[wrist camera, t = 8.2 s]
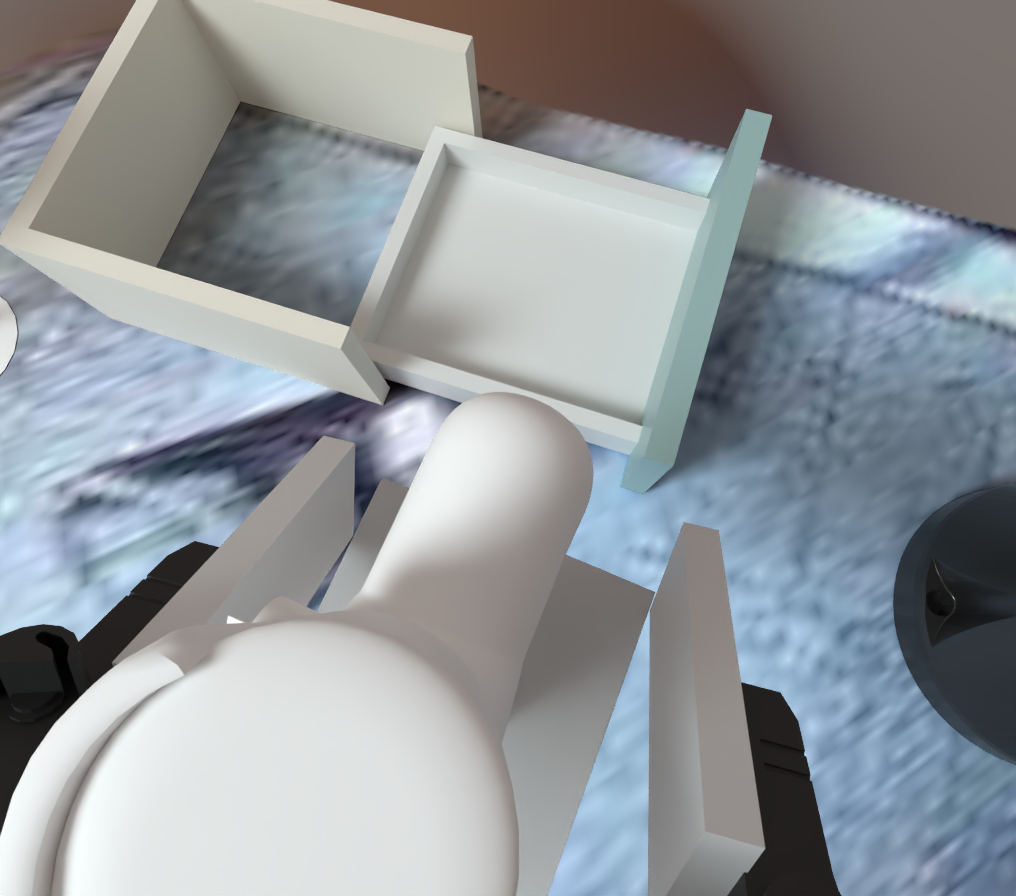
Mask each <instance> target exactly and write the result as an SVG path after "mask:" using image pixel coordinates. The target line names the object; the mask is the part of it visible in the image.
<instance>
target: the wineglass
mask: <svg viewBox="0 0 1016 896" xmlns="http://www.w3.org/2000/svg"><path fill="white" fill-rule="evenodd" d="M17 334H18V332H17V325H16V319H15V315H14V313H13V312H12V310H11V308H10V306H9V305H8V303H7V301H5V300H4V299H3V298H1V297H0V374H1V373H2V372H3V371H4V370H5V368H6V366H7V364H8V362H9V361H10V359H11V357H12V355H13V353H14V350H15V345H16V339H17Z"/></svg>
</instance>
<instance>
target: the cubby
mask: <svg viewBox="0 0 1016 896" xmlns="http://www.w3.org/2000/svg"><path fill="white" fill-rule="evenodd" d="M240 102H244V103H248V104H252V105H256V106H259V107H263V108H267V109H270V110H274V111H278V112H281V113H285V114H289V115H292V116H296V117H300V118H304V119H307V120H311V121H315V122H318V123H322V124H326V125H329V126H333V127H337V128H341V129H344V130H348V131H352V132H355V133H359V134H363V135H366V136H370V137H374V138H377V139H381V140H385V141H389V142H392V143H396V144H400V145H403V146H407V147H411V148H414V149H418V150H422V151H425V148H426V146H427V144H428V141H429V139H430V136H431V134H432V132H433V129H434V127H435V126H438V127H441V128H445V129H449V130H453V131H456V132H460V133H464V134H468V135H472V136H475V137H479V138H483V136H482V126H481V116H480V106H479V96H478V86H477V76H476V67H475V56H474V46H473V37H472V36H469V35H465V34H461V33H457V32H452V31H449V30H444V29H441V28H437V27H433V26H428V25H425V24H420V23H416V22H412V21H408V20H404V19H400V18H396V17H392V16H388V15H384V14H380V13H376V12H372V11H368V10H364V9H360V8H356V7H352V6H348V5H344V4H340V3H336V2H331V1H328V0H136V2H135V4H134V6H133V7H132V9H131V11H130V12H129V14H128V16H127V18H126V19H125V21H124V23H123V25H122V26H121V28H120V30H119V31H118V33H117V35H116V37H115V38H114V40H113V42H112V44H111V45H110V47H109V49H108V50H107V52H106V54H105V56H104V57H103V59H102V61H101V63H100V64H99V66H98V68H97V70H96V71H95V73H94V75H93V76H92V78H91V80H90V82H89V83H88V85H87V87H86V89H85V90H84V92H83V94H82V95H81V97H80V99H79V101H78V102H77V104H76V106H75V108H74V109H73V111H72V113H71V114H70V116H69V118H68V120H67V121H66V123H65V125H64V127H63V128H62V130H61V132H60V133H59V135H58V137H57V139H56V140H55V142H54V144H53V146H52V147H51V149H50V151H49V153H48V154H47V156H46V158H45V159H44V161H43V163H42V165H41V166H40V168H39V170H38V172H37V173H36V175H35V177H34V178H33V180H32V182H31V184H30V185H29V187H28V189H27V191H26V192H25V194H24V196H23V197H22V199H21V201H20V203H19V204H18V206H17V208H16V210H15V211H14V213H13V215H12V216H11V218H10V220H9V222H8V223H7V225H6V227H5V229H4V230H3V232H2V234H1V236H0V245H2V246H3V247H5V248H6V249H8V250H9V251H11V252H12V253H14V254H15V255H17V256H18V257H20V258H21V259H23V260H24V261H26V262H27V263H29V264H30V265H32V266H33V267H35V268H36V269H38V270H39V271H41V272H42V273H44V274H45V275H47V276H48V277H50V278H51V279H53V280H54V281H56V282H57V283H59V284H60V285H62V286H63V287H65V288H66V289H68V290H69V291H71V292H72V293H74V294H75V295H77V296H78V297H80V298H81V299H83V300H84V301H86V302H87V303H89V304H90V305H92V306H93V307H95V308H96V309H98V310H99V311H101V312H102V313H104V314H105V315H106V316H108V317H109V318H111V319H114V320H117V321H120V322H123V323H126V324H130V325H133V326H136V327H139V328H142V329H145V330H148V331H152V332H155V333H158V334H161V335H164V336H167V337H170V338H174V339H177V340H180V341H183V342H186V343H189V344H192V345H195V346H199V347H202V348H205V349H208V350H211V351H214V352H217V353H221V354H224V355H227V356H230V357H233V358H236V359H239V360H242V361H246V362H249V363H252V364H255V365H258V366H261V367H264V368H268V369H271V370H274V371H277V372H280V373H283V374H286V375H290V376H293V377H296V378H299V379H302V380H305V381H308V382H311V383H315V384H318V385H321V386H324V387H327V388H330V389H333V390H337V391H340V392H343V393H346V394H349V395H352V396H355V397H358V398H362V399H365V400H368V401H371V402H374V403H377V404H380V405H383V404H384V402H385V399H386V397H387V394H388V392H389V389H390V387H389V386H388V384H387V383H386V381H385V380H384V378H383V377H382V375H381V373H380V372H379V370H378V369H377V367H376V366H375V364H374V363H373V361H372V360H371V358H370V357H369V355H368V354H367V352H366V351H365V349H364V348H363V346H362V345H361V343H360V342H359V340H358V339H357V337H356V336H355V334H354V333H353V331H352V330H351V328H350V327H348V326H345V325H342V324H339V323H335V322H332V321H329V320H326V319H322V318H319V317H316V316H313V315H309V314H306V313H303V312H300V311H296V310H293V309H290V308H286V307H283V306H280V305H277V304H273V303H270V302H267V301H264V300H260V299H257V298H254V297H251V296H247V295H244V294H241V293H238V292H234V291H231V290H228V289H224V288H221V287H218V286H215V285H211V284H208V283H205V282H202V281H198V280H195V279H192V278H189V277H185V276H182V275H179V274H176V273H172V272H169V271H166V270H163V269H159V268H156V267H157V265H158V263H159V261H160V259H161V257H162V255H163V253H164V251H165V249H166V247H167V245H168V243H169V241H170V239H171V237H172V235H173V233H174V231H175V229H176V227H177V225H178V223H179V221H180V219H181V217H182V215H183V214H184V212H185V210H186V208H187V206H188V204H189V202H190V200H191V198H192V196H193V194H194V192H195V190H196V188H197V186H198V184H199V182H200V180H201V178H202V176H203V174H204V172H205V170H206V168H207V166H208V164H209V162H210V160H211V159H212V157H213V155H214V153H215V151H216V149H217V147H218V145H219V143H220V141H221V139H222V137H223V135H224V133H225V131H226V129H227V127H228V125H229V123H230V121H231V119H232V117H233V115H234V113H235V111H236V109H237V107H238V106H239V104H240Z"/></svg>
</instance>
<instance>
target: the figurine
mask: <svg viewBox="0 0 1016 896" xmlns="http://www.w3.org/2000/svg"><path fill="white" fill-rule="evenodd" d="M592 484H593V462H592V458H591V454H590V451H589V447H588V445H587V443H586V442H585V440H584V438H583V436H582V434H581V433H580V431H579V430H578V429H577V428H576V427H575V426H574V424H573V423H572V422H570V421H569V420H568V419H567V418H566V417H565V416H563V415H562V414H561V413H560V412H558V411H557V410H555V409H553V408H552V407H550V406H549V405H547V404H545V403H543V402H540V401H538V400H536V399H534V398H530V397H527V396H524V395H520V394H515V393H509V392H491V393H484V394H480V395H477V396H475V397H473V398H471V399H469V400H467V401H465V402H463V403H462V404H461V405H459V406H458V407H457V408H456V409H454V410H453V412H452V413H451V414H450V415H449V416H448V417H447V418H446V420H445V421H444V422H443V424H442V425H441V427H440V428H439V430H438V432H437V433H436V435H435V437H434V439H433V440H432V442H431V444H430V446H429V448H428V451H427V453H426V455H425V457H424V459H423V461H422V463H421V465H420V468H419V470H418V472H417V474H416V476H415V478H414V480H413V482H412V485H411V487H410V489H409V488H407V487H405V486H402V485H400V484H397V483H395V482H393V481H390V480H388V479H386V478H383V477H382V479H381V481H380V484H379V486H378V488H377V490H376V492H375V494H374V496H373V498H372V500H371V502H370V504H369V506H368V508H367V510H366V512H365V514H364V516H363V518H362V521H361V523H360V525H359V527H358V529H357V531H356V533H355V535H354V537H353V539H352V541H351V543H350V545H349V547H348V549H347V551H346V553H345V555H344V557H343V560H342V562H341V564H340V566H339V568H338V570H337V572H336V574H335V576H334V578H333V580H332V582H331V584H330V586H329V588H328V590H327V592H326V594H325V597H324V599H323V601H322V603H321V605H320V607H319V609H318V611H317V612H316V611H314V610H312V609H310V608H307V607H305V606H303V605H301V604H299V603H296V602H294V601H292V600H290V599H288V598H286V597H283V596H280V597H277V598H275V599H273V600H272V601H271V602H269V603H268V604H267V605H266V606H265V607H264V608H263V609H262V610H261V611H260V613H259V614H258V615H257V616H256V618H255V619H254V620H253V622H252V623H247V622H245V621H243V620H241V619H238V618H235V617H232V616H228V619H227V624H208V625H197V626H191V627H186V628H182V629H179V630H175V631H172V632H170V633H169V634H167V635H165V636H164V637H162V638H160V639H159V640H157V641H155V642H154V643H152V644H150V645H148V646H147V647H145V648H143V649H141V650H139V651H138V652H136V653H134V654H132V655H131V656H129V657H127V658H125V659H124V660H123V661H121V662H120V663H119V664H117V665H116V666H115V667H113V668H112V669H111V670H109V671H108V672H107V673H106V674H105V675H103V676H102V677H101V678H100V679H99V680H98V681H96V682H95V683H94V684H93V685H92V686H91V687H90V688H89V689H88V690H87V691H86V692H85V693H84V694H83V695H82V696H81V697H80V698H79V699H78V700H77V701H76V702H75V703H74V704H73V705H72V706H71V707H70V708H69V709H68V710H67V711H66V712H65V713H64V714H63V715H62V716H61V717H60V718H59V719H58V720H57V721H56V722H55V724H54V725H53V726H52V728H51V729H50V731H49V732H48V734H47V735H46V736H45V738H44V739H43V741H42V742H41V744H40V745H39V746H38V748H37V749H36V751H35V752H34V754H33V755H32V756H31V758H30V760H29V762H28V764H27V766H26V769H25V771H24V773H23V775H22V777H21V779H20V781H19V783H18V785H17V787H16V789H15V791H14V793H13V795H12V799H11V802H10V805H9V809H8V812H7V815H6V819H5V822H4V825H3V829H2V832H1V835H0V896H547V895H548V893H549V890H550V887H551V884H552V881H553V878H554V876H555V873H556V870H557V867H558V864H559V862H560V859H561V856H562V853H563V850H564V848H565V845H566V842H567V839H568V836H569V833H570V831H571V828H572V825H573V822H574V819H575V817H576V814H577V811H578V808H579V805H580V802H581V800H582V797H583V794H584V791H585V788H586V786H587V783H588V780H589V777H590V774H591V772H592V769H593V766H594V763H595V760H596V757H597V755H598V752H599V749H600V746H601V743H602V741H603V738H604V735H605V732H606V729H607V726H608V724H609V721H610V718H611V715H612V712H613V710H614V707H615V704H616V701H617V698H618V696H619V693H620V690H621V687H622V684H623V681H624V679H625V676H626V673H627V670H628V667H629V665H630V662H631V659H632V656H633V653H634V650H635V648H636V645H637V642H638V639H639V636H640V634H641V631H642V628H643V625H644V622H645V620H646V617H647V614H648V611H649V608H650V605H651V603H652V600H653V597H654V594H655V592H653V591H651V590H649V589H646V588H644V587H642V586H639V585H637V584H634V583H632V582H630V581H627V580H625V579H623V578H620V577H618V576H615V575H613V574H611V573H608V572H606V571H604V570H601V569H599V568H596V567H594V566H592V565H589V564H587V563H585V562H582V561H580V560H578V559H575V558H573V557H570V556H568V555H566V553H567V550H568V548H569V546H570V544H571V541H572V539H573V537H574V535H575V533H576V530H577V528H578V526H579V524H580V522H581V519H582V517H583V515H584V513H585V510H586V508H587V505H588V502H589V499H590V495H591V491H592Z"/></svg>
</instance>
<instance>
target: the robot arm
mask: <svg viewBox="0 0 1016 896" xmlns="http://www.w3.org/2000/svg"><path fill="white" fill-rule="evenodd" d="M354 472H355V443H351V442H347V441H343V440H339V439H335V438H331V437H326V436H323V437H322V438H321V439H320V440H319V441H318V442H317V444H316V445H315V446H314V447H313V448H312V449H311V450H310V451H309V452H308V453H307V454H306V455H305V456H304V457H303V458H302V460H301V461H300V462H299V463H298V464H297V465H296V466H295V467H294V468H293V469H292V470H291V471H290V472H289V473H288V475H287V476H286V477H285V478H284V479H283V480H282V481H281V482H280V483H279V484H278V485H277V486H276V487H275V488H274V490H273V491H272V492H271V493H270V494H269V495H268V496H267V497H266V498H265V499H264V500H263V501H262V502H261V503H260V504H259V506H258V507H257V508H256V509H255V510H254V511H253V512H252V513H251V514H250V515H249V516H248V517H247V518H246V519H245V521H244V522H243V523H242V524H241V525H240V526H239V527H238V528H237V529H236V530H235V531H234V532H233V533H232V534H231V536H230V537H229V538H228V539H227V540H226V541H225V542H224V543H223V544H222V545H221V546H220V547H216V546H212V545H208V544H204V543H201V542H197V541H194V542H192V543H190V544H189V545H187V546H185V547H183V548H181V549H179V550H177V551H175V552H173V553H172V554H170V555H168V556H167V557H166V558H165V559H164V560H163V561H161V562H160V563H159V564H158V565H157V566H156V567H155V568H154V569H153V570H152V571H151V572H150V573H149V574H148V575H147V578H146V580H144V579H143V580H142V581H141V582H140V583H139V584H138V585H137V586H136V587H135V588H134V589H133V590H132V591H131V593H130V595H129V596H126V597H124V598H123V599H122V600H121V601H120V602H119V603H118V604H117V605H116V606H115V607H114V608H113V609H112V610H111V611H110V612H109V613H108V614H107V615H106V616H105V617H104V618H103V619H102V620H101V621H100V622H99V623H98V624H97V625H96V626H95V627H94V628H93V629H92V630H91V631H90V632H88V633H87V634H86V635H85V636H84V637H83V638H82V639H81V640H80V641H79V642H78V640H77V638H76V636H75V634H74V633H73V632H71V631H69V630H67V629H65V628H64V627H62V626H54V625H45V624H42V625H36V626H29V627H23V628H19V629H17V630H14V631H12V632H9V633H6V634H4V635H1V636H0V835H1V832H2V829H3V825H4V822H5V819H6V815H7V812H8V809H9V805H10V802H11V799H12V795H13V793H14V791H15V789H16V787H17V785H18V783H19V781H20V779H21V777H22V775H23V773H24V771H25V769H26V766H27V764H28V762H29V760H30V758H31V756H32V755H33V754H34V752H35V751H36V749H37V748H38V746H39V745H40V744H41V742H42V741H43V739H44V738H45V736H46V735H47V734H48V732H49V731H50V729H51V728H52V726H53V725H54V724H55V722H56V721H57V720H58V719H59V718H60V717H61V716H62V715H63V714H64V713H65V712H66V711H67V710H68V709H69V708H70V707H71V706H72V705H73V704H74V703H75V702H76V701H77V700H78V699H79V698H80V697H81V696H82V695H83V694H84V693H85V692H86V691H87V690H88V689H89V688H90V687H91V686H92V685H93V684H94V683H95V682H96V681H98V680H99V679H100V678H101V677H102V676H103V675H105V674H106V673H107V672H108V671H109V670H111V669H112V668H113V667H115V666H116V665H117V664H119V663H120V662H121V661H123V660H124V659H125V658H127V657H129V656H131V655H132V654H134V653H136V652H138V651H139V650H141V649H143V648H145V647H147V646H148V645H150V644H152V643H154V642H155V641H157V640H159V639H160V638H162V637H164V636H165V635H167V634H169V633H170V632H172V631H175V630H179V629H182V628H186V627H191V626H197V625H208V624H227V619H228V616H232V617H235V618H238V619H241V620H243V621H245V622H247V623H252V622H253V620H254V619H255V618H256V616H257V615H258V614H259V613H260V611H261V610H262V609H263V608H264V607H265V606H266V605H267V604H268V603H269V602H271V601H272V600H273V599H275V598H277V597H280V596H283V597H286V598H288V599H290V600H292V601H294V602H296V603H299V604H301V605H303V606H305V607H306V606H307V604H308V603H309V601H310V600H311V598H312V597H313V595H314V594H315V592H316V591H317V589H318V588H319V586H320V585H321V583H322V581H323V580H324V578H325V577H326V575H327V574H328V572H329V571H330V569H331V568H332V566H333V565H334V563H335V562H336V560H337V559H338V557H339V556H340V554H341V553H342V551H343V550H344V548H345V547H346V545H347V544H348V542H349V541H350V539H351V538H352V536H353V519H354ZM893 607H894V620H895V627H896V632H897V637H898V640H899V644H900V648H901V651H902V653H903V656H904V659H905V661H906V664H907V666H908V668H909V670H910V672H911V674H912V676H913V678H914V680H915V682H916V683H917V685H918V687H919V688H920V690H921V691H922V693H923V694H924V696H925V697H926V699H927V700H928V701H929V702H930V704H931V705H932V706H933V708H934V709H935V710H936V711H937V712H938V713H939V714H940V716H941V717H942V718H943V719H944V720H945V721H946V722H947V723H948V724H949V725H950V726H952V727H953V728H954V729H955V730H956V731H957V732H958V733H960V734H961V735H962V736H964V737H965V738H966V739H967V740H969V741H970V742H972V743H973V744H975V745H976V746H978V747H979V748H981V749H983V750H985V751H986V752H988V753H990V754H992V755H994V756H996V757H998V758H1000V759H1002V760H1005V761H1007V762H1010V763H1012V764H1015V765H1016V483H1014V484H1008V485H1003V486H998V487H994V488H990V489H986V490H981V491H977V492H974V493H970V494H967V495H965V496H962V497H960V498H957V499H955V500H953V501H951V502H950V503H948V504H946V505H945V506H943V507H941V508H940V509H939V510H937V511H936V512H935V513H933V514H932V515H931V516H930V517H929V518H928V519H927V520H926V521H925V522H924V523H923V524H922V525H921V526H920V527H919V529H918V530H917V531H916V532H915V534H914V535H913V537H912V538H911V540H910V542H909V543H908V545H907V547H906V549H905V551H904V553H903V556H902V558H901V561H900V564H899V567H898V571H897V574H896V580H895V586H894V600H893ZM804 752H805V749H804V745H803V740H802V736H801V732H800V727H799V723H798V720H797V719H796V717H795V715H794V714H793V712H792V710H791V709H790V707H789V706H788V704H787V702H786V701H785V699H784V698H783V696H782V694H781V693H780V692H776V691H772V690H768V689H765V688H761V687H757V686H753V685H749V684H746V683H742V682H741V679H740V672H739V665H738V659H737V652H736V645H735V638H734V631H733V624H732V618H731V611H730V604H729V597H728V590H727V583H726V577H725V570H724V563H723V556H722V549H721V543H720V536H719V531H718V530H714V529H710V528H706V527H702V526H697V525H693V524H689V523H685V522H684V523H683V525H682V528H681V530H680V533H679V536H678V538H677V541H676V544H675V546H674V549H673V551H672V554H671V557H670V559H669V562H668V565H667V567H666V570H665V572H664V575H663V578H662V580H661V583H660V586H659V588H658V591H657V594H656V596H655V599H654V601H653V604H652V607H651V609H650V675H649V826H648V896H841V894H840V892H839V891H838V888H837V885H836V882H835V879H834V876H833V872H832V868H831V864H830V859H829V855H828V850H827V846H826V842H825V837H824V833H823V828H822V824H821V820H820V815H819V811H818V806H817V802H816V798H815V793H814V789H813V784H812V781H810V771H809V767H808V762H807V758H806V756H804Z"/></svg>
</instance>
